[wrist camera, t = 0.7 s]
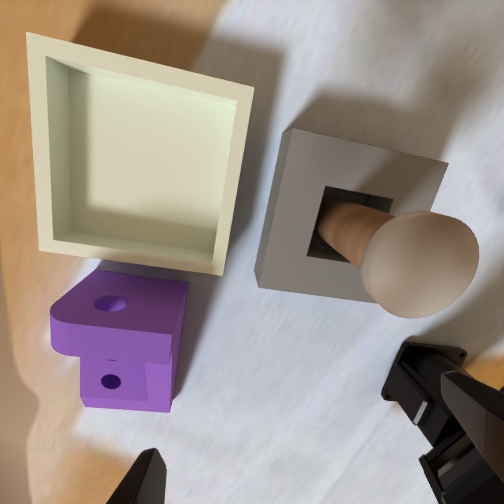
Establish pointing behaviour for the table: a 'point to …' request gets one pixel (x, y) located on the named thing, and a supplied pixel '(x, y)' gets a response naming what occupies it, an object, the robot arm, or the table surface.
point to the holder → (308, 202)
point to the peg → (402, 254)
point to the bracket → (122, 338)
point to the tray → (133, 157)
